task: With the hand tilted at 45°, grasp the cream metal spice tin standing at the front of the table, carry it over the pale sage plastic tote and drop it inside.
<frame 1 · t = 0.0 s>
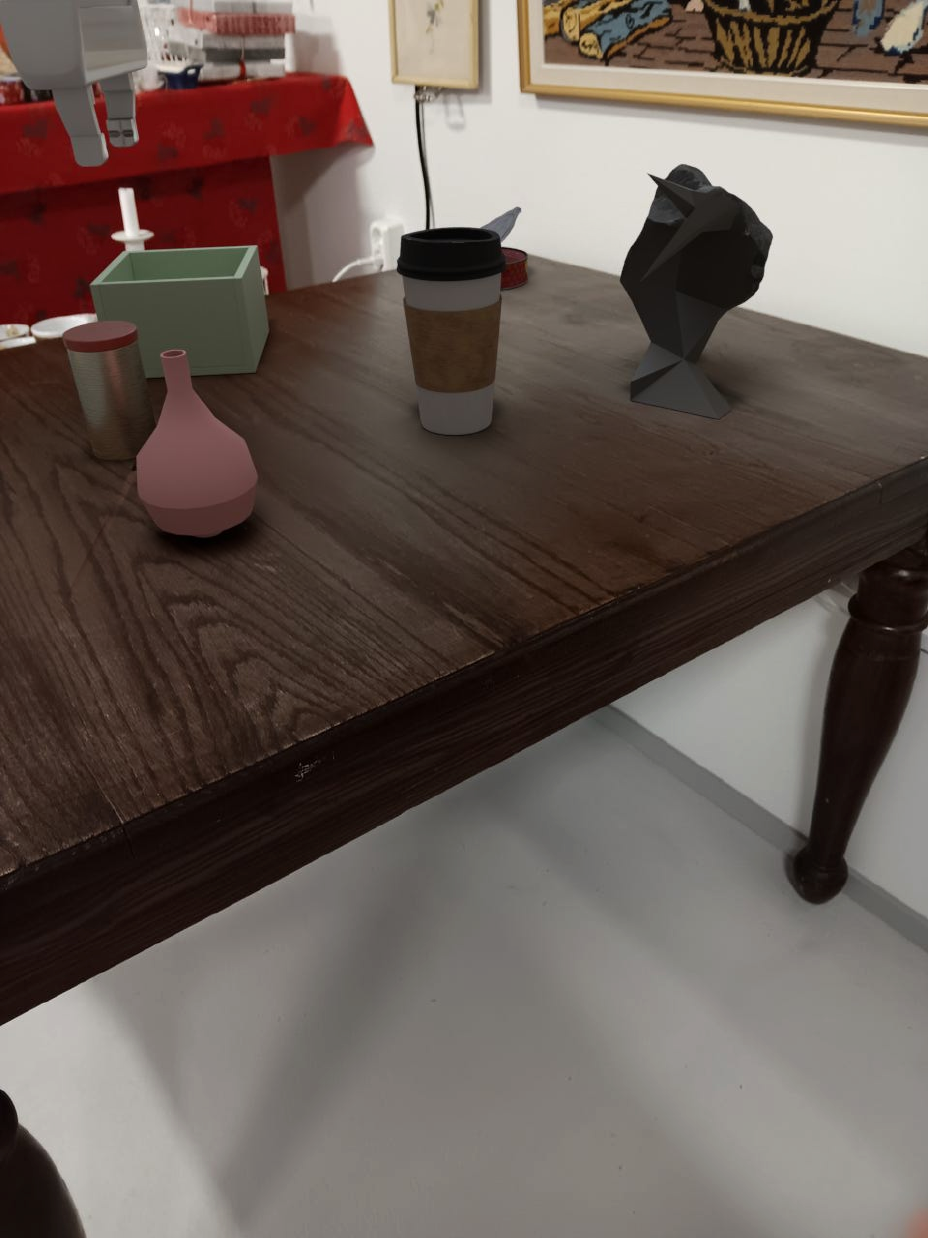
hand: (110, 154, 66), 21 cm above the table, tool pointing down, fingers open, 8 cm apart
pink vase: (208, 532, 65), on the table
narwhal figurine: (679, 379, 87), on the table
tote: (195, 354, 97), on the table
canned food: (487, 282, 119), on the table
coffee cup: (456, 423, 80), on the table
spice tin: (129, 458, 75), on the table
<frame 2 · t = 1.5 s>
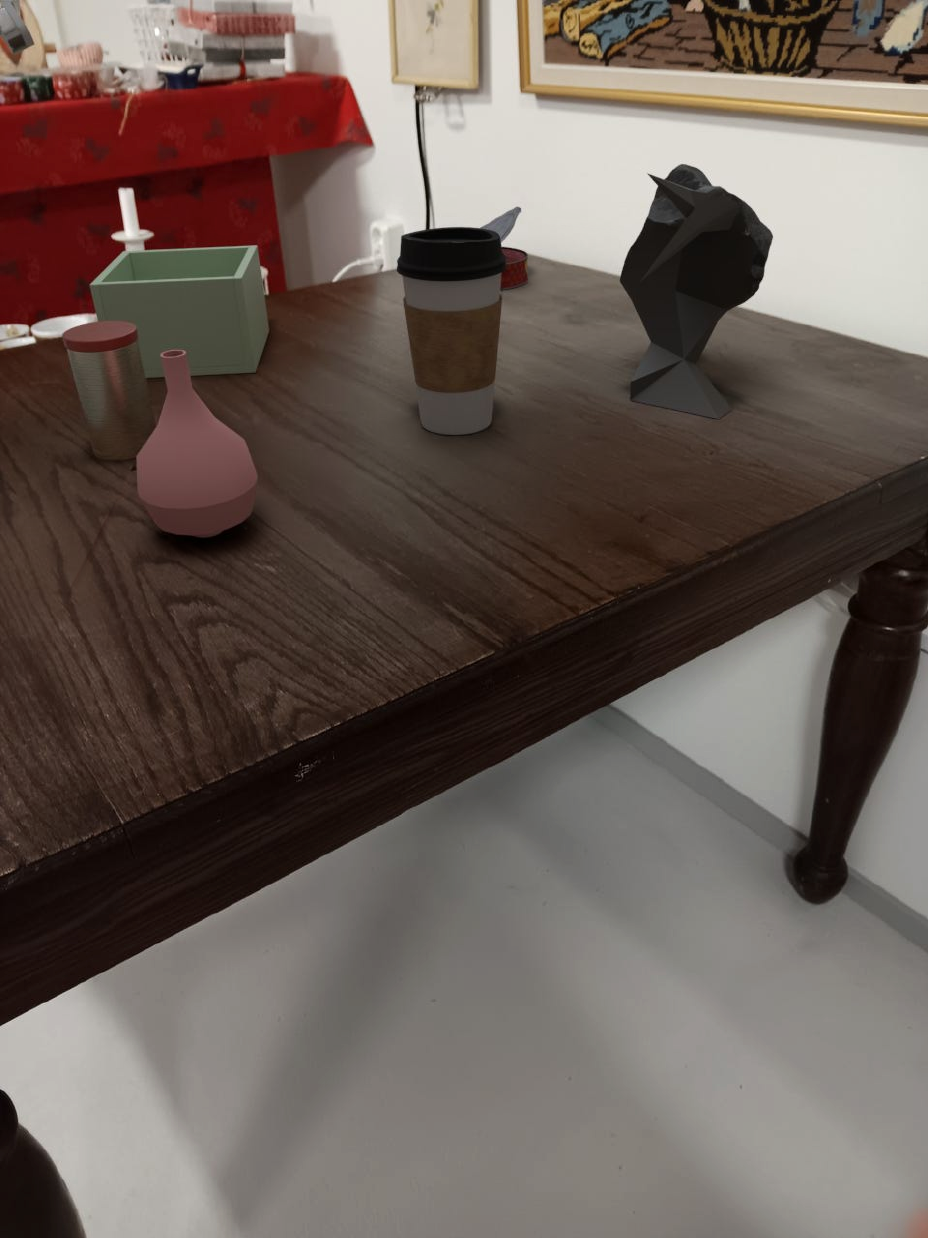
nothing on the table moved.
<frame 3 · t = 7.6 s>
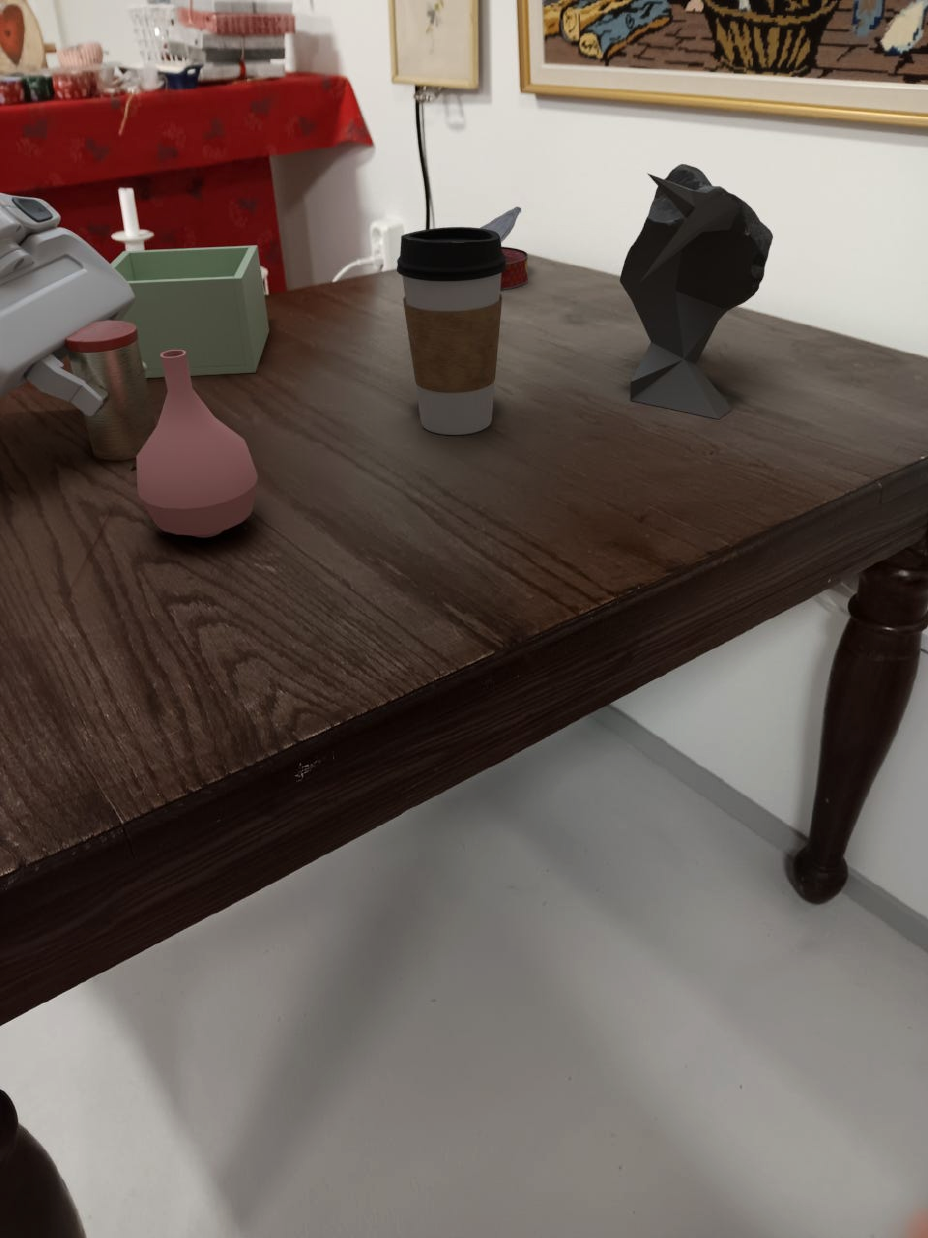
hand: (121, 391, 72), 5 cm above the table, tool tilted 45°, fingers closed on spice tin, 5 cm apart
spice tin: (129, 458, 75), on the table, touching gripper
everything else where it was.
when the fingers open (12 cm above the table, at t = 16.7 s): spice tin drops 6 cm, resting on tote.
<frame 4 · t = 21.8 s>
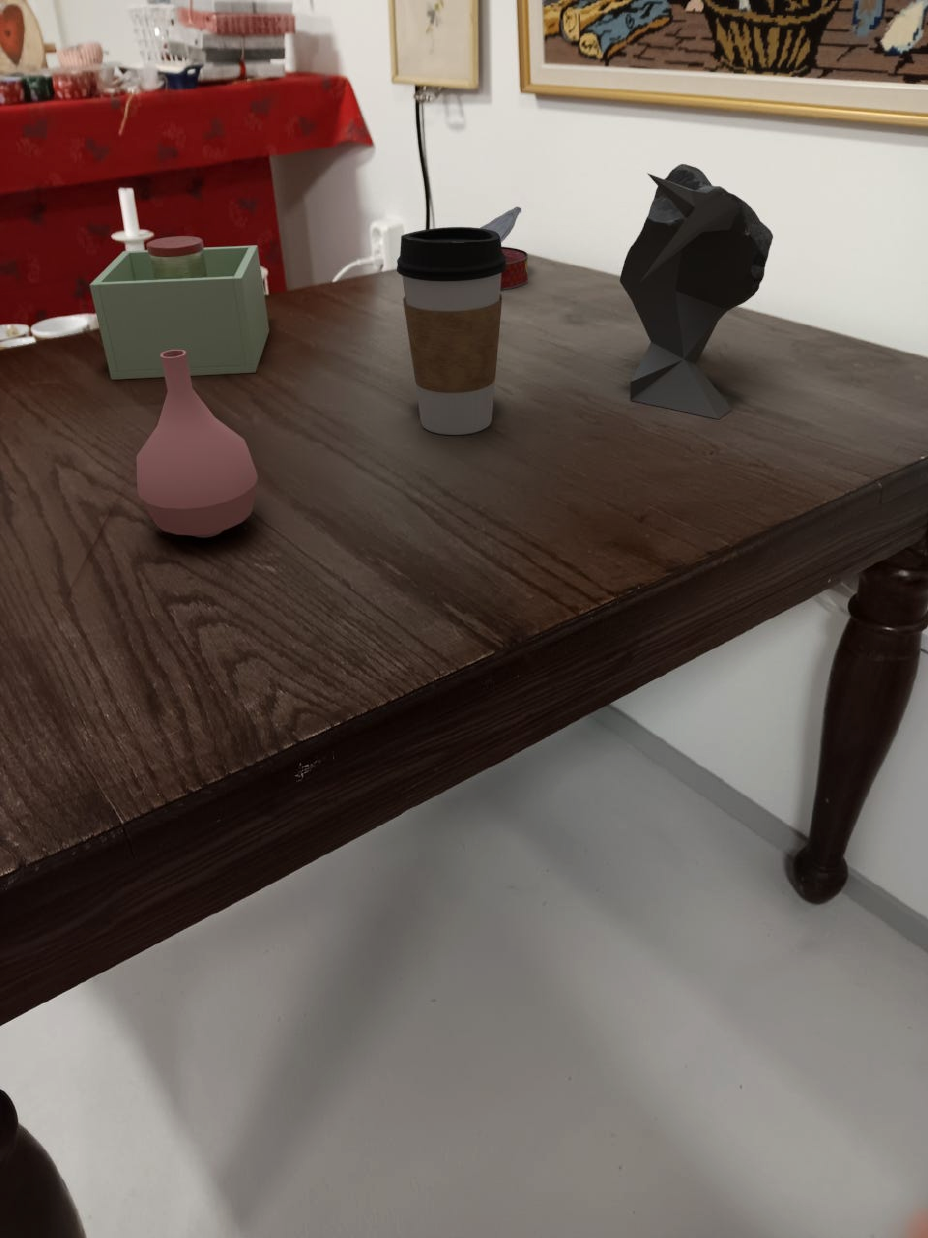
spice tin: (193, 346, 96), point 1 cm above the table, touching tote
everything else where it was.
at the end: spice tin inside the target area in the tote (0.0 cm from its centre), point 0.8 cm above the tote's base; the gripper is holding nothing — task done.
